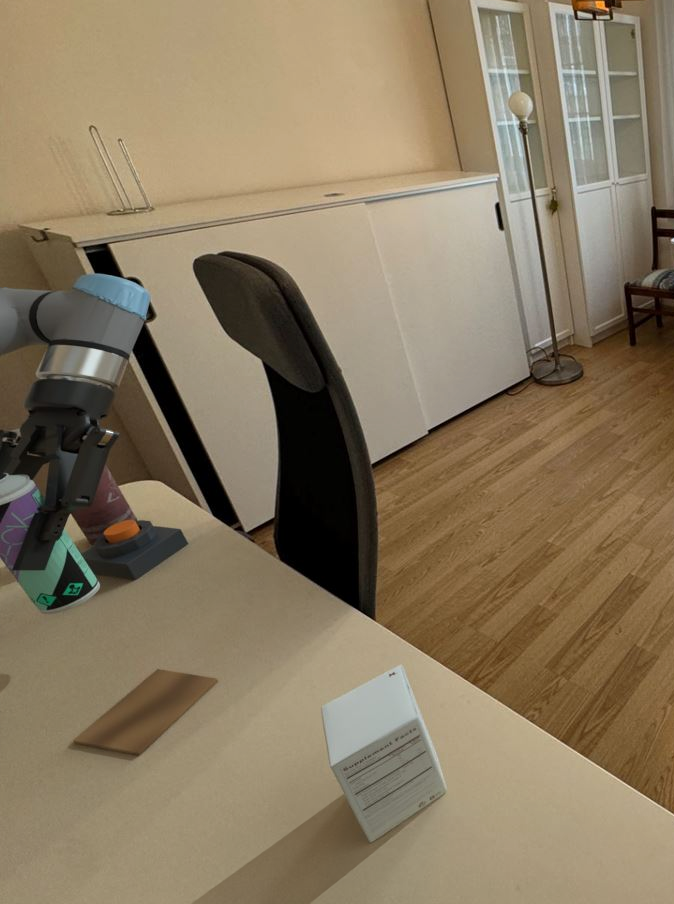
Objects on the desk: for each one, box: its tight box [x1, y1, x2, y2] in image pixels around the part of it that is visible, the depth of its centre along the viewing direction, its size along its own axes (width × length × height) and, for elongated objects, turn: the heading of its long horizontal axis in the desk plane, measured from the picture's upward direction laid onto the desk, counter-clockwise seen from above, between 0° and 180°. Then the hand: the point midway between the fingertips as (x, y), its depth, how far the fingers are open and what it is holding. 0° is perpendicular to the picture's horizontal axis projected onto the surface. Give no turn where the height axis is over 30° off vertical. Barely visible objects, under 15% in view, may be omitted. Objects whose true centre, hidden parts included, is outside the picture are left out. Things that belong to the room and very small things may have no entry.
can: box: [70, 463, 139, 546], centre depth 92 cm, size 6×6×14 cm
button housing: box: [80, 519, 189, 581], centre depth 89 cm, size 10×8×5 cm
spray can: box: [0, 472, 101, 615], centre depth 68 cm, size 6×6×20 cm
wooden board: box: [72, 668, 219, 756], centre depth 66 cm, size 9×9×1 cm
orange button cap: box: [104, 520, 140, 543], centre depth 87 cm, size 4×4×2 cm
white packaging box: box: [320, 664, 448, 844], centre depth 55 cm, size 7×7×13 cm
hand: (2, 570), depth 66 cm, fingers closed on spray can, 5 cm apart
